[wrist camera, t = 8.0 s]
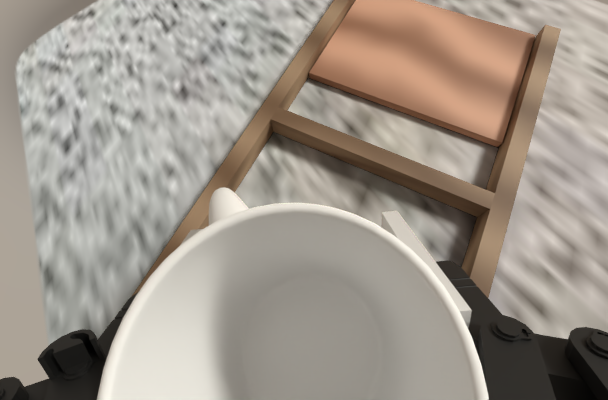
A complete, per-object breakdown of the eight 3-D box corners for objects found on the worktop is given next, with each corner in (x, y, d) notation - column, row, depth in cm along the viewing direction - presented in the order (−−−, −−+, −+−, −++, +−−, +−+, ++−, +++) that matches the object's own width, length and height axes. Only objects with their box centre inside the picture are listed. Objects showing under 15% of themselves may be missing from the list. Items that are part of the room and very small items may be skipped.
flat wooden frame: (410, 520, 14) (421, 543, 13) (122, 333, 18) (105, 334, 16) (546, 45, 25) (560, 29, 24) (351, -11, 29) (353, -29, 27)
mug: (313, 201, 20) (299, 77, 10) (422, 387, 15) (600, 505, 5) (194, 261, 19) (46, 191, 9) (273, 480, 14) (147, 846, 4)
